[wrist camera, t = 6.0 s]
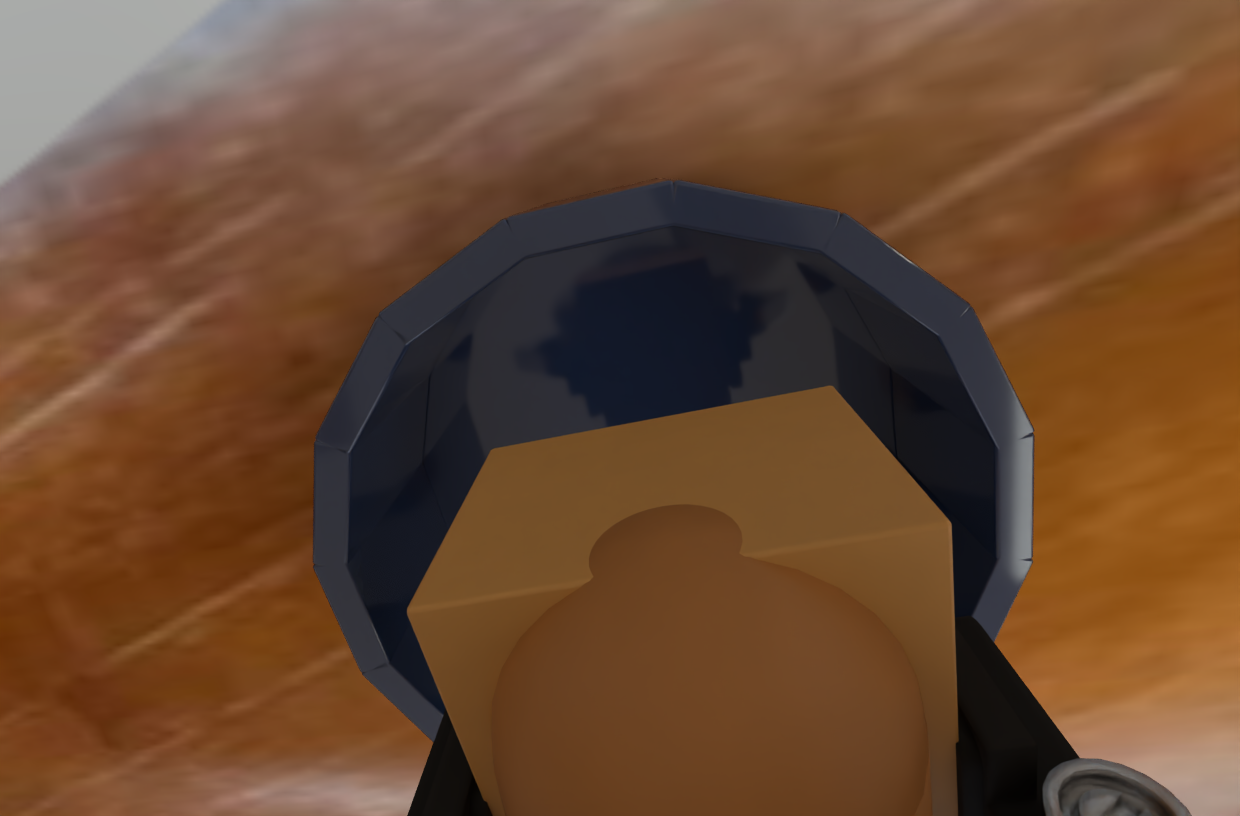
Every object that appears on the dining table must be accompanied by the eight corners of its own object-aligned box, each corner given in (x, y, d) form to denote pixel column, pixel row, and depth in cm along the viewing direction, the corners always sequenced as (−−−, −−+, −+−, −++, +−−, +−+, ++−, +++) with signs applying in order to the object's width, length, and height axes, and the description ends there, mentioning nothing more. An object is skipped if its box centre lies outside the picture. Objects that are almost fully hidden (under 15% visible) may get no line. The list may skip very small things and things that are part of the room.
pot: (897, 122, 16) (1041, 94, 10) (925, 611, 21) (1031, 768, 16) (328, 253, 17) (185, 290, 12) (487, 683, 23) (441, 850, 17)
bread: (487, 439, 10) (298, 778, 5) (831, 374, 10) (1101, 670, 4) (606, 814, 13) (580, 1292, 8) (872, 782, 13) (1057, 1273, 7)
